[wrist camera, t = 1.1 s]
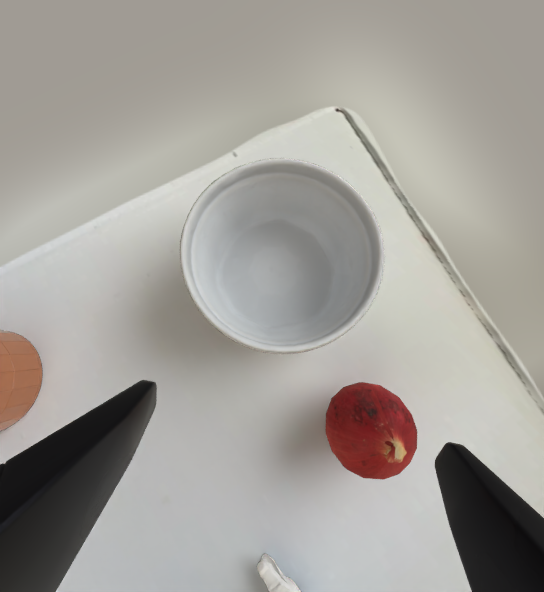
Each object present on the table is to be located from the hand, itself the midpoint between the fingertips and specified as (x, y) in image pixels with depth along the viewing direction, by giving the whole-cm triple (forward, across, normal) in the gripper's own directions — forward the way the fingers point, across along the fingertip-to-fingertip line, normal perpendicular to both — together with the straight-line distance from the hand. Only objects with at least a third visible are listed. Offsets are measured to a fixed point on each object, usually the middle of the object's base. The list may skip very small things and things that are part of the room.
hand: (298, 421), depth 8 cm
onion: (+11, -7, +10) cm, 16 cm away
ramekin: (+17, +1, +2) cm, 17 cm away
